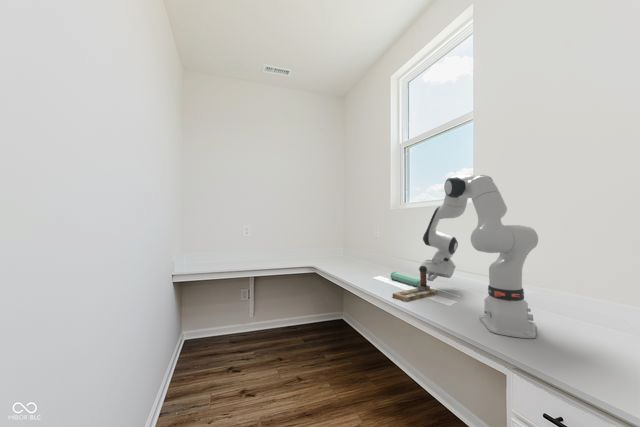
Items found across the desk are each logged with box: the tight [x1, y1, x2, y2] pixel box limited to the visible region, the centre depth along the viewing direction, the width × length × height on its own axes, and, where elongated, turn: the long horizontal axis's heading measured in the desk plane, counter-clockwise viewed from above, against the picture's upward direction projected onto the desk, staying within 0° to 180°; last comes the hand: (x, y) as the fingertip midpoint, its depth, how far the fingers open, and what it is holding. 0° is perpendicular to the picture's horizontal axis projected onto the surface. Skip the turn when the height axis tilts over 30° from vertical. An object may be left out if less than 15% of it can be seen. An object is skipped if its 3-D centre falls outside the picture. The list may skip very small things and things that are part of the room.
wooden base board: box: [392, 288, 438, 303], centre depth 153 cm, size 24×10×2 cm, turn 121°
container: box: [390, 271, 421, 287], centre depth 183 cm, size 6×6×25 cm
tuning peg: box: [417, 266, 433, 291], centre depth 155 cm, size 5×7×13 cm
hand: (429, 280), depth 159 cm, fingers closed
